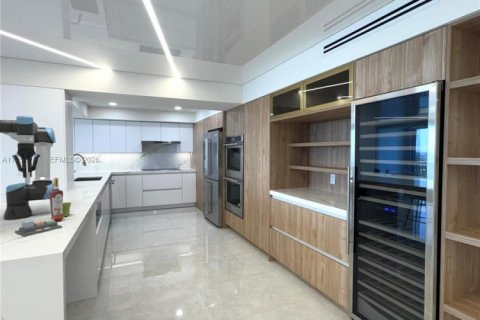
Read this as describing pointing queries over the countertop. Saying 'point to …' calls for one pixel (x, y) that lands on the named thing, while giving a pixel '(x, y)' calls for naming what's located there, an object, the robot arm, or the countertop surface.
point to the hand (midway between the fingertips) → (27, 183)
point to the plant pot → (66, 209)
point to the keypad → (38, 229)
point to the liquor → (56, 202)
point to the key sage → (49, 221)
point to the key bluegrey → (27, 224)
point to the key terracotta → (39, 223)
